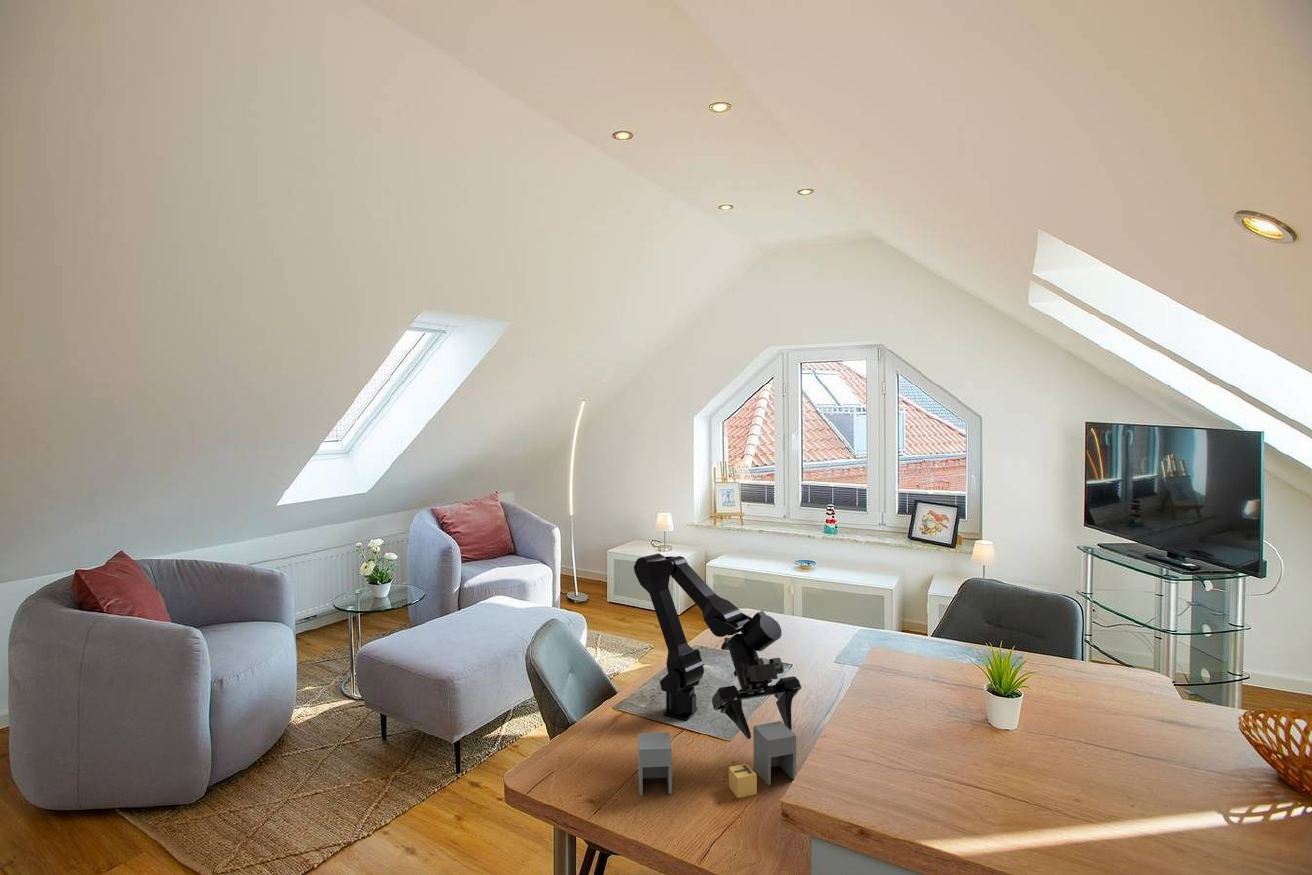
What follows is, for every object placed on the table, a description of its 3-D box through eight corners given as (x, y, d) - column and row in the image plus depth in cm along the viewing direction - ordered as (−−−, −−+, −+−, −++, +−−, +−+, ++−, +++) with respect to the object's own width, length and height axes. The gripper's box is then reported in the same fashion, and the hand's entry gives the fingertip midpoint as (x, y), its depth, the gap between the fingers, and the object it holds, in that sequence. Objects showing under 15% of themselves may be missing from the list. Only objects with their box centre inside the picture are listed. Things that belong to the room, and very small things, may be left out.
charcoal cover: (753, 768, 132) (753, 725, 132) (780, 763, 134) (780, 721, 134) (768, 785, 127) (768, 740, 126) (795, 779, 129) (796, 735, 128)
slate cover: (638, 776, 130) (638, 733, 129) (669, 775, 130) (668, 731, 130) (639, 795, 124) (639, 749, 123) (671, 794, 124) (671, 748, 124)
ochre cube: (728, 786, 126) (728, 766, 126) (747, 782, 128) (747, 762, 128) (737, 798, 123) (737, 777, 122) (756, 794, 124) (756, 773, 124)
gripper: (717, 650, 133) (740, 728, 123) (797, 639, 139) (825, 713, 129) (702, 672, 141) (723, 747, 131) (779, 661, 147) (804, 732, 137)
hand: (770, 734), depth 132 cm, fingers open, 9 cm apart
